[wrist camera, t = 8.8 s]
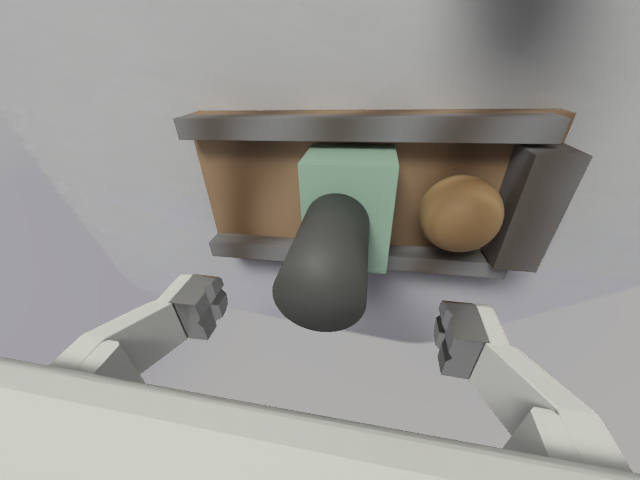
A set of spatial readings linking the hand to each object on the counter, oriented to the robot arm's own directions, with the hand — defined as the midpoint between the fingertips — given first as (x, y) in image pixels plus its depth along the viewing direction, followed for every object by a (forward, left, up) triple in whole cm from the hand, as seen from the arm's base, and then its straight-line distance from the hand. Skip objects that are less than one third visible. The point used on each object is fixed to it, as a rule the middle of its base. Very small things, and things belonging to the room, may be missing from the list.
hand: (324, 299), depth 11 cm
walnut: (-7, 0, -8) cm, 10 cm away
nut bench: (-1, 0, -12) cm, 12 cm away
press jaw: (0, 0, -10) cm, 10 cm away
